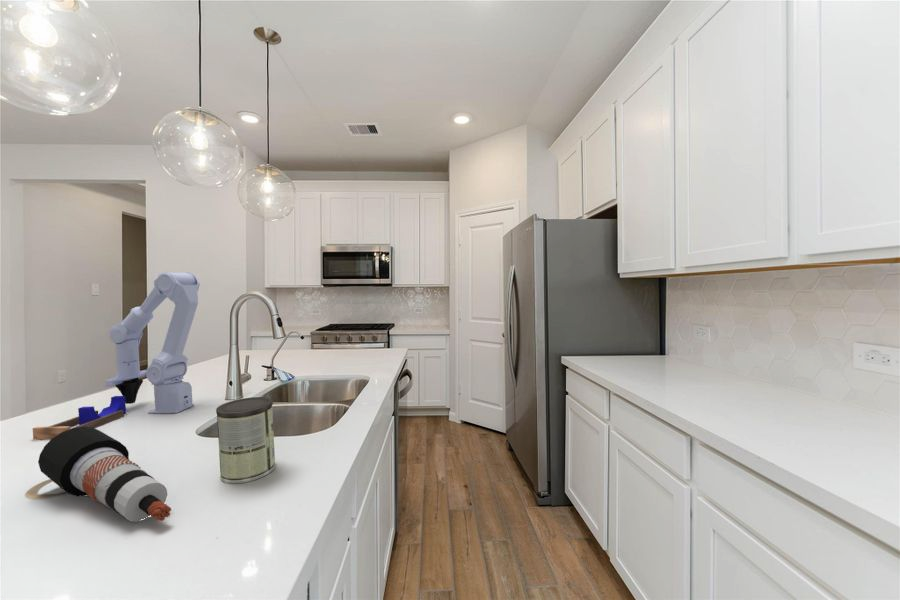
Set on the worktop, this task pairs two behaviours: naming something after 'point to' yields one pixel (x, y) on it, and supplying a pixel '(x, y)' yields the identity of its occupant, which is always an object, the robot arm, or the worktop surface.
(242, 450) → the coffee can
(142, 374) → the robot arm
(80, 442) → the cable
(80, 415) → the cable clip
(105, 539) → the worktop surface
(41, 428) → the brown wooden piece
